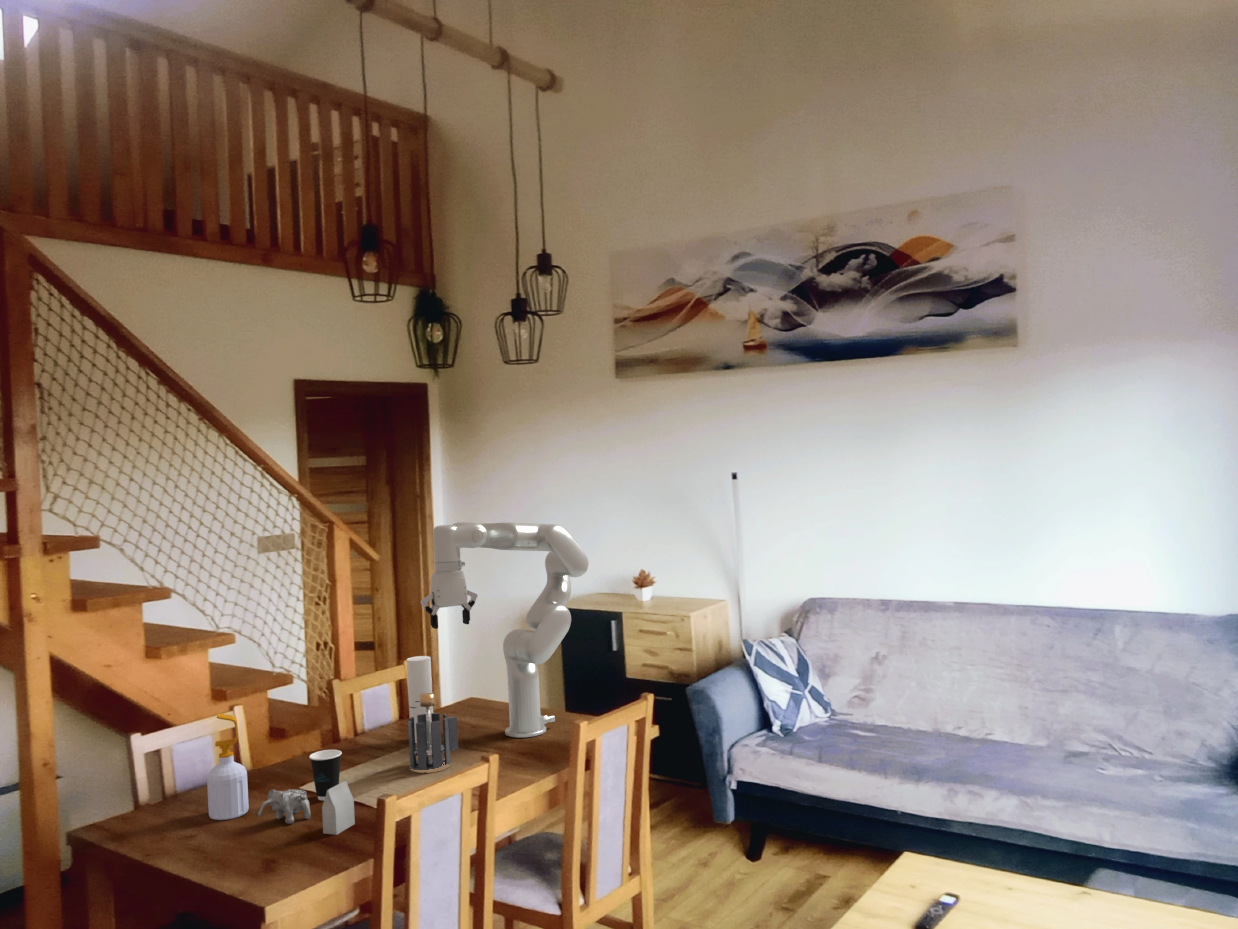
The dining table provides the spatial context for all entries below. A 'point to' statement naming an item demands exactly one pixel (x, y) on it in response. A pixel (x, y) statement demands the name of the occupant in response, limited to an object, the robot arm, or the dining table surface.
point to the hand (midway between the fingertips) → (450, 626)
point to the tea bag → (338, 809)
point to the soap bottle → (227, 782)
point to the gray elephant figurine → (287, 803)
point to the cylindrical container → (418, 685)
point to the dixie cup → (325, 770)
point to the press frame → (432, 741)
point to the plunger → (428, 719)
